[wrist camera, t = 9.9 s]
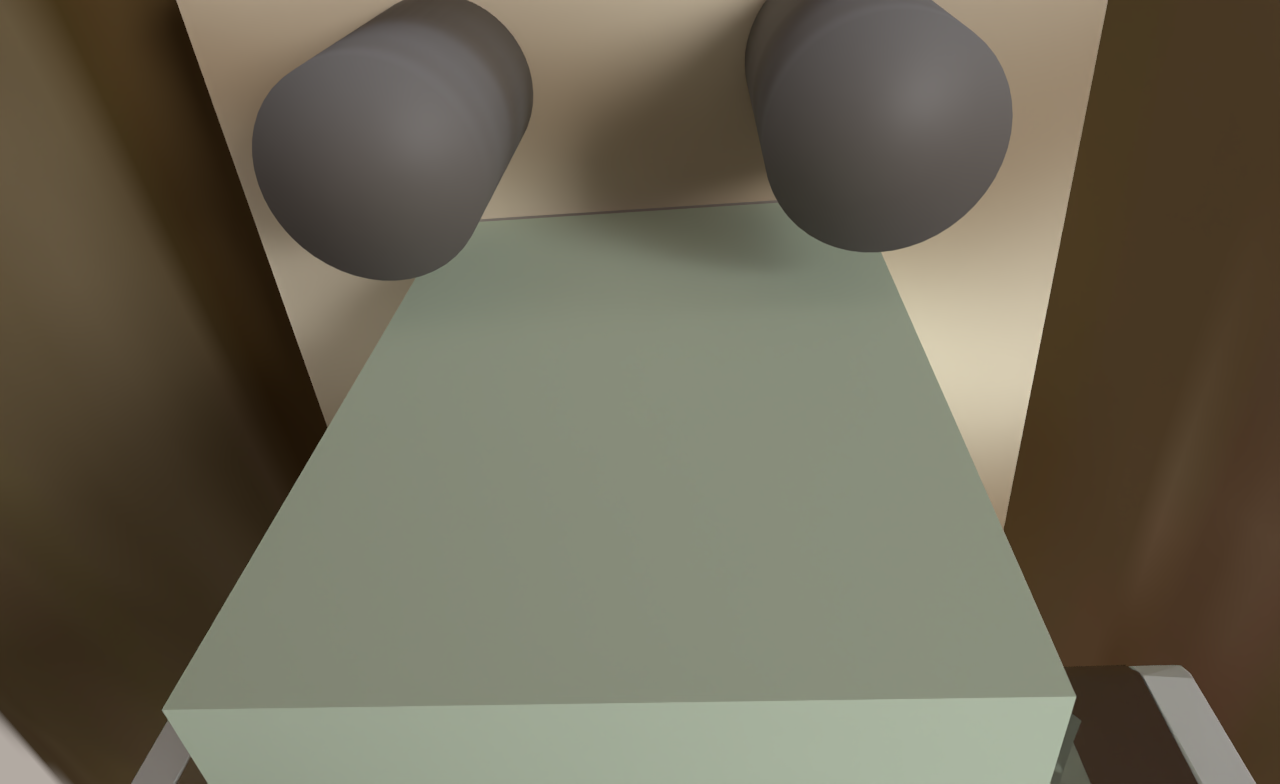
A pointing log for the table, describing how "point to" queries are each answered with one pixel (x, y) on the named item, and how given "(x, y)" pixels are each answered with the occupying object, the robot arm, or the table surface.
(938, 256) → the stub cradle
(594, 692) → the sage block
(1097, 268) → the table surface
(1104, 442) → the table surface
